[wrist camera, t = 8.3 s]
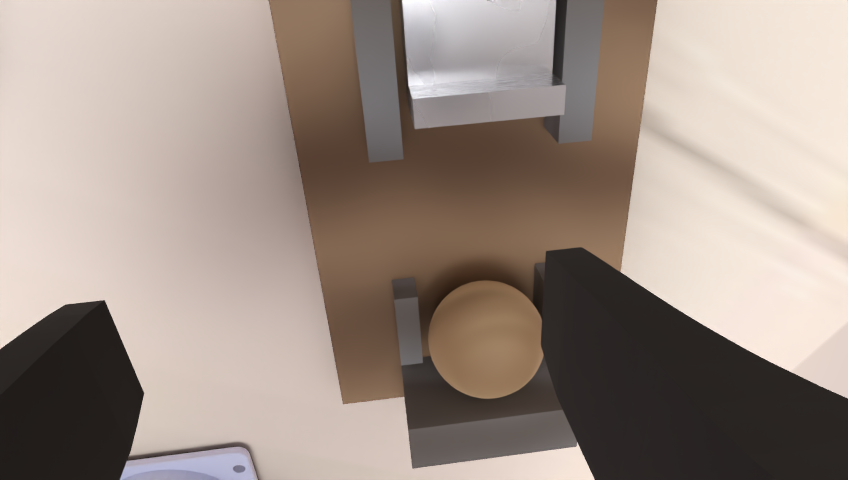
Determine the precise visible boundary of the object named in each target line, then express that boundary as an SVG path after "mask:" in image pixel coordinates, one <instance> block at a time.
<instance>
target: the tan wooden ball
mask: <svg viewBox="0 0 848 480" xmlns="http://www.w3.org/2000/svg"><path fill="white" fill-rule="evenodd" d="M541 329H542V319H541V317H540V314H539V313H538V311H537V309H536V308H535V306H534V305H533V303H532V302H531V301H530V300H529V299H528V298H527V297H526V296H525V295H524V294H523V293H522V292H520V291H519V290H517V289H516V288H514V287H512V286H510V285H507V284H505V283H501V282H497V281H487V280H483V281H475V282H470V283H467V284H464V285H462V286H460V287H458V288H456V289H455V290H453V291H452V292H451V293H449V294H448V295H447V296H446V297H445V298H444V299H443V300H442V301H441V303H440V304H439V305H438V307H437V308H436V310H435V312H434V314H433V317H432V320H431V322H430V327H429V333H428V343H429V351H430V354H431V358H432V361H433V363H434V365H435V367H436V369H437V370H438V372H439V373H440V375H441V376H442V377H443V378H444V380H445V381H446V382H448V383H449V384H450V385H451V386H452V387H454V388H455V389H456V390H458V391H460V392H462V393H464V394H466V395H469V396H473V397H477V398H484V399H491V398H499V397H503V396H507V395H509V394H512V393H514V392H516V391H517V390H519V389H521V388H522V387H523V386H525V385H526V384H527V383H528V382H529V381H530V380H531V379H532V377H533V376H534V375H535V373H536V372H537V370H538V368H539V366H540V364H541V362H542V359H543V355H544V354H543V351H542V348H541Z"/></svg>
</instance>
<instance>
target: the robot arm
mask: <svg viewBox="0 0 848 480" xmlns="http://www.w3.org/2000/svg"><path fill="white" fill-rule="evenodd" d="M541 348H542V351H543V354H544V358H545V361H546V364H547V368H548V371H549V374H550V377H551V380H552V383H553V386H554V390H555V393H556V396H557V398H558V400H559V403H560V405H561V407H562V409H563V412H564V414H565V416H566V418H567V420H568V422H569V425H570V427H571V429H572V431H573V433H574V436H575V438H576V440H577V442H578V444H579V446H580V449H581V451H582V453H583V455H584V457H585V459H586V461H587V464H588V466H589V468H590V470H591V472H592V474H593V477H594V479H595V480H848V399H847V398H845V397H843V396H841V395H838V394H836V393H834V392H832V391H829V390H827V389H825V388H823V387H820V386H818V385H816V384H814V383H812V382H810V381H808V380H806V379H804V378H802V377H800V376H798V375H796V374H794V373H791V372H789V371H787V370H785V369H783V368H781V367H779V366H777V365H775V364H773V363H771V362H769V361H767V360H765V359H763V358H761V357H759V356H757V355H755V354H754V353H752V352H750V351H748V350H746V349H744V348H742V347H741V346H739V345H737V344H735V343H734V342H732V341H730V340H728V339H726V338H725V337H723V336H721V335H719V334H718V333H716V332H714V331H712V330H711V329H709V328H707V327H705V326H704V325H702V324H700V323H699V322H697V321H695V320H694V319H692V318H690V317H689V316H687V315H686V314H684V313H682V312H681V311H679V310H677V309H676V308H674V307H673V306H671V305H670V304H668V303H666V302H665V301H663V300H662V299H660V298H659V297H657V296H656V295H654V294H652V293H651V292H649V291H648V290H646V289H645V288H643V287H642V286H640V285H639V284H637V283H636V282H634V281H633V280H631V279H630V278H628V277H627V276H625V275H624V274H622V273H621V272H619V271H618V270H616V269H615V268H613V267H612V266H610V265H609V264H607V263H606V262H605V261H603V260H601V259H600V258H598V257H597V256H595V255H594V254H592V253H591V252H589V251H587V250H586V249H584V248H582V247H577V248H568V249H559V250H550V251H546V257H545V275H544V293H543V311H542V329H541ZM143 396H144V392H143V390H142V387H141V385H140V383H139V380H138V378H137V376H136V373H135V371H134V368H133V366H132V364H131V361H130V359H129V357H128V354H127V352H126V350H125V347H124V345H123V343H122V340H121V338H120V336H119V333H118V331H117V328H116V326H115V324H114V321H113V319H112V317H111V314H110V312H109V310H108V307H107V305H106V303H105V300H103V301H94V302H85V303H76V304H67V305H64V306H63V307H61V308H59V309H58V310H56V311H54V312H53V313H51V314H49V315H48V316H46V317H45V318H43V319H42V320H41V321H39V322H38V323H36V324H35V325H33V326H32V327H30V328H29V329H28V330H26V331H25V332H23V333H22V334H21V335H19V336H18V337H16V338H15V339H14V340H12V341H11V342H10V343H8V344H7V345H5V346H4V347H3V348H1V349H0V480H258V479H257V475H256V472H255V469H254V466H253V463H252V460H251V457H250V454H249V452H248V450H246V449H245V448H242V447H230V448H223V449H215V450H207V451H199V452H192V453H184V454H176V455H169V456H161V457H153V458H145V459H138V460H130V461H127V459H128V457H129V454H130V451H131V447H132V443H133V439H134V435H135V432H136V428H137V423H138V419H139V414H140V410H141V405H142V400H143Z"/></svg>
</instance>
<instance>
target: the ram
mask: <svg viewBox="0 0 848 480" xmlns="http://www.w3.org/2000/svg"><path fill="white" fill-rule="evenodd" d="M399 5H400V18H401V31H402V44H403V57H404V70H405V83H406V96H407V103H408V107H409V111H410V114H411V118H412V121H413V125H414V128H415V129H421V128H432V127H442V126H452V125H463V124H473V123H483V122H494V121H504V120H515V119H525V118H535V117H546V116H556V115H564V110H565V95H566V84H565V83H563V82H562V81H561V80H560V79H559V78H558V77H557V76H555V75H554V74H553V73H552V69H553V50H554V31H555V12H556V0H399Z"/></svg>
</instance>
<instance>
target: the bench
mask: <svg viewBox="0 0 848 480" xmlns="http://www.w3.org/2000/svg"><path fill="white" fill-rule="evenodd" d="M269 3H270V9H271V14H272V20H273V25H274V31H275V36H276V42H277V47H278V52H279V58H280V63H281V69H282V74H283V80H284V85H285V91H286V96H287V101H288V107H289V112H290V118H291V123H292V129H293V134H294V139H295V145H296V150H297V156H298V161H299V167H300V172H301V178H302V183H303V188H304V194H305V199H306V205H307V210H308V216H309V221H310V226H311V232H312V237H313V243H314V248H315V254H316V259H317V265H318V270H319V275H320V281H321V286H322V292H323V297H324V303H325V308H326V314H327V319H328V324H329V330H330V335H331V341H332V346H333V352H334V357H335V362H336V368H337V373H338V379H339V384H340V390H341V395H342V401H343V404H349V403H357V402H365V401H372V400H380V399H388V398H396V397H405V406H406V415H407V423H408V432H409V441H410V450H411V459H412V468H420V467H427V466H435V465H442V464H450V463H457V462H465V461H472V460H480V459H487V458H494V457H502V456H509V455H517V454H524V453H532V452H539V451H546V450H554V449H561V448H569V447H576V446H577V440H576V438H575V436H574V433H573V431H572V429H571V427H570V425H569V422H568V420H567V418H566V416H565V414H564V412H563V409H562V407H561V405H560V403H559V400H558V398H557V396H556V393H555V390H554V386H553V383H552V380H551V377H550V374H549V371H548V368H547V364H546V361H545V358H544V355H543V359H542V362H541V364H540V366H539V368H538V370H537V372H536V373H535V375H534V376H533V377H532V379H531V380H530V381H529V382H528V383H527V384H526V385H525V386H523V387H522V388H521V389H519V390H517V391H516V392H514V393H512V394H509V395H507V396H503V397H499V398H491V399H484V398H477V397H473V396H469V395H466V394H464V393H462V392H460V391H458V390H456V389H455V388H454V387H452V386H451V385H450V384H449V383H448V382H446V381H445V380H444V378H443V377H442V376H441V375H440V373H439V372H438V370H437V369H436V367H435V365H434V363H433V361H432V358H431V354H430V351H429V343H428V333H429V327H430V322H431V320H432V317H433V314H434V312H435V310H436V308H437V307H438V305H439V304H440V303H441V301H442V300H443V299H444V298H445V297H446V296H447V295H448V294H449V293H451V292H452V291H453V290H455V289H456V288H458V287H460V286H462V285H464V284H467V283H470V282H475V281H483V280H487V281H497V282H501V283H505V284H507V285H510V286H512V287H514V288H516V289H517V290H519V291H520V292H522V293H523V294H524V295H525V296H526V297H527V298H528V299H529V300H530V301H531V302H532V303H533V305H534V306H535V308H536V309H537V311H538V313H539V314H540V317H541V319H542V311H543V293H544V275H545V257H546V251H550V250H559V249H568V248H577V247H582V248H584V249H586V250H587V251H589V252H591V253H592V254H594V255H595V256H597V257H598V258H600V259H601V260H603V261H605V262H606V263H607V264H609V265H610V266H612V267H613V268H615V269H616V270H618V271H619V272H620V270H621V263H622V256H623V248H624V241H625V234H626V226H627V219H628V212H629V204H630V197H631V190H632V182H633V175H634V168H635V160H636V153H637V146H638V138H639V131H640V124H641V116H642V109H643V102H644V94H645V87H646V80H647V72H648V65H649V58H650V50H651V43H652V36H653V28H654V21H655V14H656V6H657V0H556V12H555V31H554V50H553V69H552V73H553V74H554V75H555V76H557V77H558V78H559V79H560V80H561V81H562V82H563V83H565V84H566V95H565V110H564V115H556V116H546V117H535V118H525V119H515V120H504V121H494V122H483V123H473V124H463V125H452V126H442V127H432V128H421V129H415V128H414V125H413V121H412V118H411V114H410V111H409V107H408V103H407V96H406V83H405V70H404V57H403V44H402V31H401V18H400V5H399V0H269Z"/></svg>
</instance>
